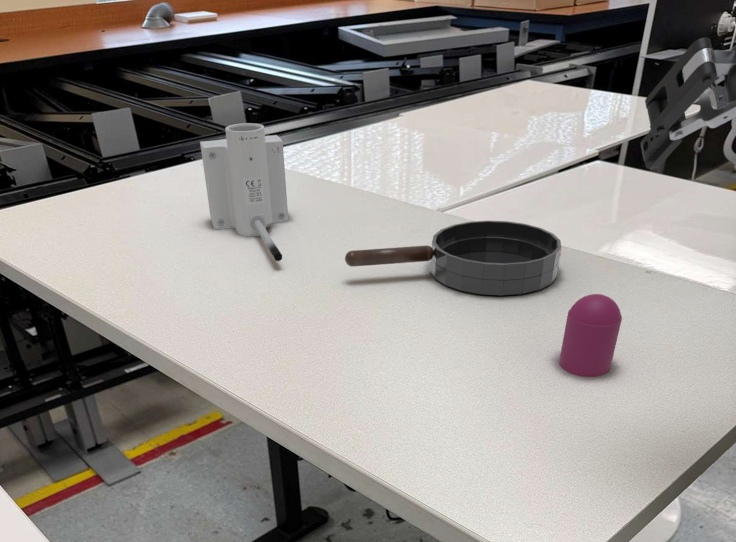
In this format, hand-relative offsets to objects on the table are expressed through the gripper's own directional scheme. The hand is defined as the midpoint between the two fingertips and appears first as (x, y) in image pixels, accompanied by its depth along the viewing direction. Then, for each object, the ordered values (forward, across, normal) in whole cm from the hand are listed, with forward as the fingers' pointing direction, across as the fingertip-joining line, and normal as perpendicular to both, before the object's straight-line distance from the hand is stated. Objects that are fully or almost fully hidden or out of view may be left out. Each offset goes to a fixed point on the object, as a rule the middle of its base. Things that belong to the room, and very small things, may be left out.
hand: (698, 155), depth 55 cm
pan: (+43, 0, -11) cm, 44 cm away
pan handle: (+42, +15, -13) cm, 46 cm away
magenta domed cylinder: (+24, 0, +9) cm, 25 cm away
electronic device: (+57, +30, -25) cm, 70 cm away
